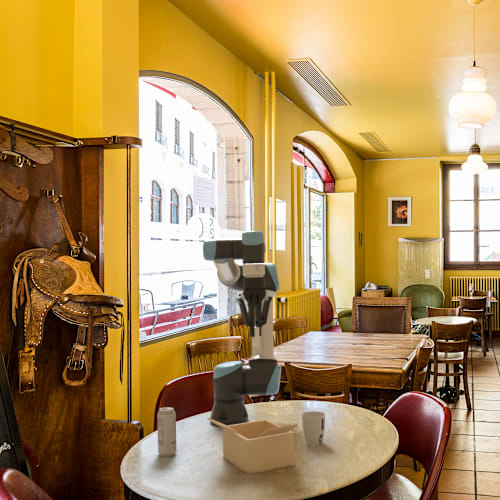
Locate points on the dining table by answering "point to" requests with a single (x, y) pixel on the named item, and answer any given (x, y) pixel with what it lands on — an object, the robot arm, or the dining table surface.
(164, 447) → the energy drink can
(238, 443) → the carton
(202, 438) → the dining table surface
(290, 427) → the front flap
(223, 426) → the side flap
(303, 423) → the cup
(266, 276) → the robot arm
